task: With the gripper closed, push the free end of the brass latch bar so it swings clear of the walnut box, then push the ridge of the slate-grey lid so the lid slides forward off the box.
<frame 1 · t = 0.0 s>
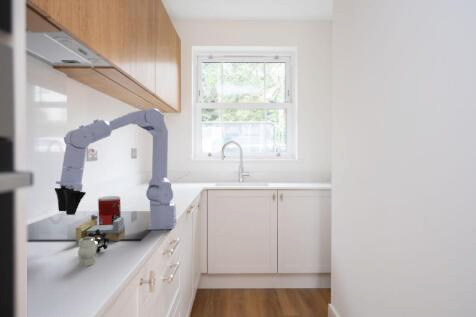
hand: (66, 212, 92), 11 cm above the worktop, tool pointing down, fingers open, 7 cm apart
latch: (87, 226, 101), point 4 cm above the worktop, hinge at 0.0°
canned food: (110, 226, 118), on the worktop
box: (106, 238, 101), on the worktop
valve: (92, 259, 82), on the worktop
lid: (106, 225, 101), point 4 cm above the worktop, slide at 0.0 cm
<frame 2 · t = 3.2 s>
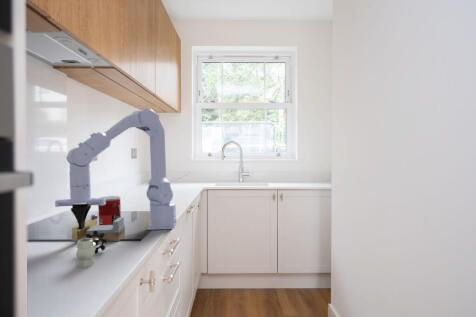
hand: (81, 228, 96), 5 cm above the worktop, tool pointing down, fingers closed, pressing on latch
latch: (85, 226, 101), point 4 cm above the worktop, hinge at -5.3°, touching gripper
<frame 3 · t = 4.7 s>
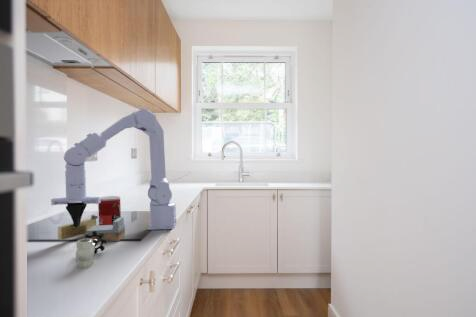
hand: (76, 226, 99), 5 cm above the worktop, tool pointing down, fingers closed
latch: (79, 226, 102), point 4 cm above the worktop, hinge at -29.3°, touching gripper
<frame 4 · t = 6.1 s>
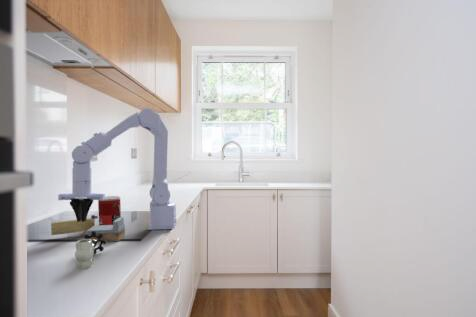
hand: (81, 221, 104), 5 cm above the worktop, tool pointing down, fingers closed, pressing on latch
latch: (75, 224, 104), point 4 cm above the worktop, hinge at -68.4°, touching gripper
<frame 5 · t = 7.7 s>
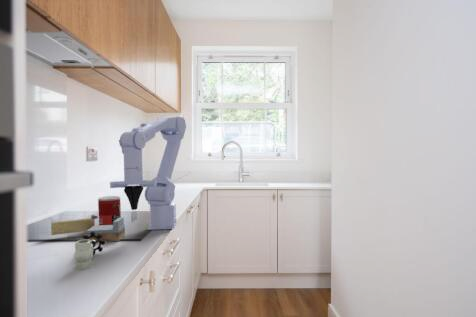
hand: (134, 209, 100), 10 cm above the worktop, tool pointing down, fingers closed
latch: (75, 224, 104), point 4 cm above the worktop, hinge at -69.3°
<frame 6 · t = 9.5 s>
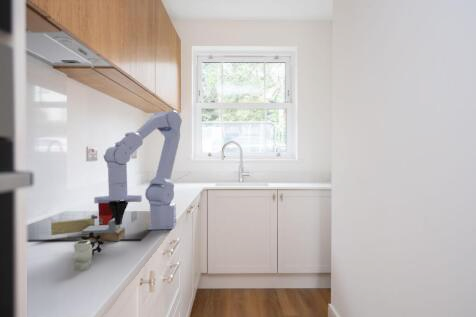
hand: (119, 224, 100), 5 cm above the worktop, tool pointing down, fingers closed
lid: (101, 225, 100), point 4 cm above the worktop, slide at 1.4 cm, touching gripper
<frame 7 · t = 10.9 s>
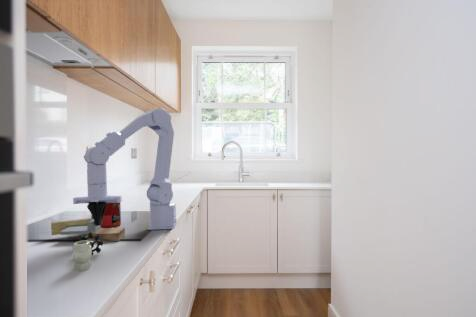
hand: (98, 225, 100), 5 cm above the worktop, tool pointing down, fingers closed
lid: (81, 226, 100), point 4 cm above the worktop, slide at 8.0 cm, touching gripper
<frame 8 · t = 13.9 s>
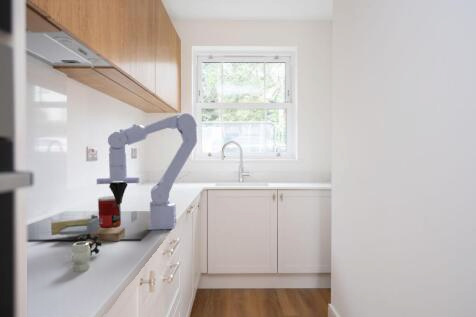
hand: (119, 203, 110), 10 cm above the worktop, tool pointing down, fingers closed
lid: (80, 226, 100), point 4 cm above the worktop, slide at 8.1 cm
at the end: latch at -69° (first picture: +0°); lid slide at 8.1 cm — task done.
